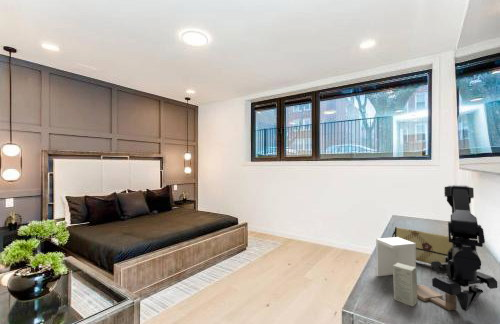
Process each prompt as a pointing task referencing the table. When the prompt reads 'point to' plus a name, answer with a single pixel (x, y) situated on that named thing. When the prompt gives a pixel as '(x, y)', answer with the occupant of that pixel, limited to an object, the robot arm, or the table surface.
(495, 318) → the table surface
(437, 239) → the clutch purse
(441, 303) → the tan wooden paddle
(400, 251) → the white upright block
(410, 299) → the skincare box
